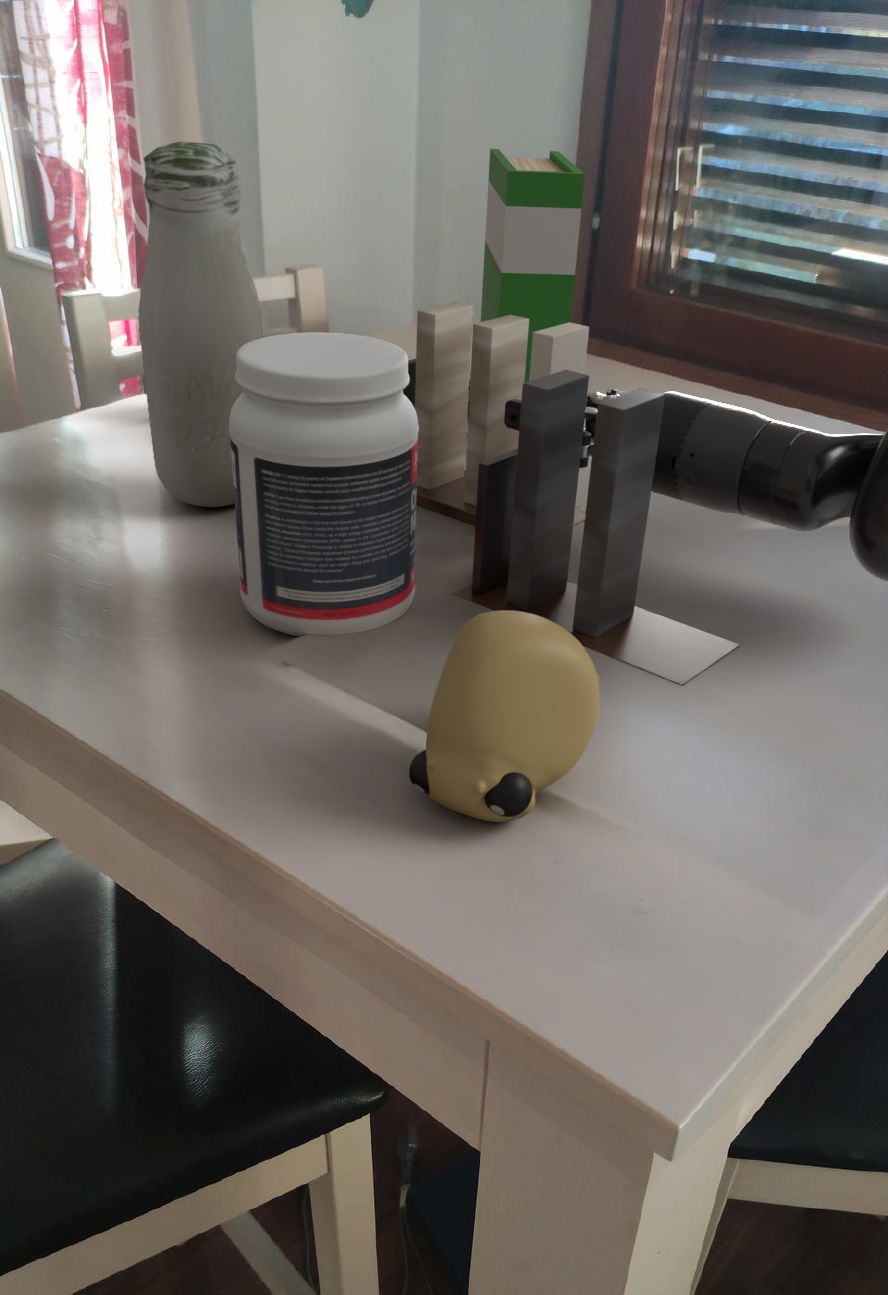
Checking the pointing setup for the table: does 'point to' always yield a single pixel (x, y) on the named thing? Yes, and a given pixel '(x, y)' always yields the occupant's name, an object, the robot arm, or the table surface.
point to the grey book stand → (541, 524)
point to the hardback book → (531, 240)
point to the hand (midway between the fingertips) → (528, 405)
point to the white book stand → (463, 402)
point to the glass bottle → (194, 317)
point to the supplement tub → (324, 482)
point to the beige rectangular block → (559, 350)
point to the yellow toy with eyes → (506, 715)
